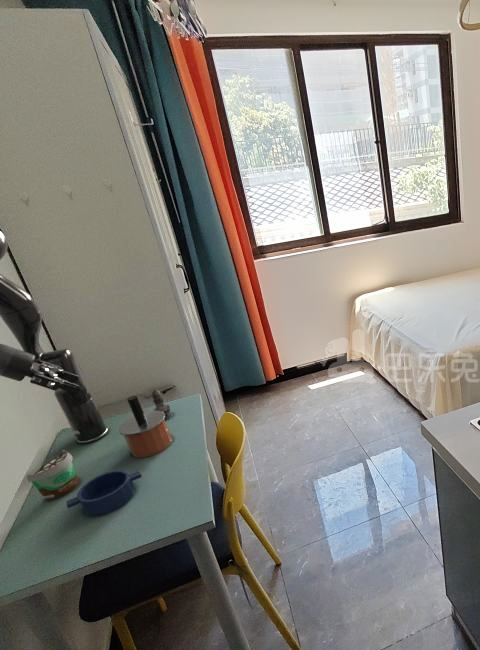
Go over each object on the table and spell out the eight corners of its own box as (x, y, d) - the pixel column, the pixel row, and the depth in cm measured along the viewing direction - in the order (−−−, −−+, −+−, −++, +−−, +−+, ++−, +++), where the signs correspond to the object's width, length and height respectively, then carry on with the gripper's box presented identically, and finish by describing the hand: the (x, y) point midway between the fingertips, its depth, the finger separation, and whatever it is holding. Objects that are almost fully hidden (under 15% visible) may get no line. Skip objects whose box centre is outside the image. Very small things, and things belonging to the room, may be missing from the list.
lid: (117, 425, 146) (105, 398, 142) (162, 409, 153) (151, 383, 148) (122, 442, 135) (109, 414, 131) (169, 424, 142) (158, 397, 138)
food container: (58, 504, 125) (42, 477, 121) (41, 503, 126) (24, 476, 122) (93, 475, 136) (79, 449, 132) (77, 475, 137) (63, 448, 133)
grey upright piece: (153, 421, 163) (141, 393, 158) (163, 412, 168) (152, 385, 163) (167, 421, 162) (155, 392, 157) (176, 412, 167) (166, 384, 162)
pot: (130, 445, 149) (119, 423, 146) (168, 430, 155) (159, 409, 152) (134, 462, 140) (124, 438, 136) (175, 445, 146) (166, 422, 142)
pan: (72, 503, 125) (65, 489, 123) (142, 473, 134) (136, 460, 132) (73, 528, 115) (65, 514, 113) (148, 495, 124) (142, 481, 122)
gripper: (12, 356, 108) (85, 380, 118) (16, 341, 119) (83, 365, 129) (-5, 383, 107) (71, 405, 118) (1, 366, 118) (70, 388, 129)
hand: (77, 384), depth 124 cm, fingers open, 8 cm apart
